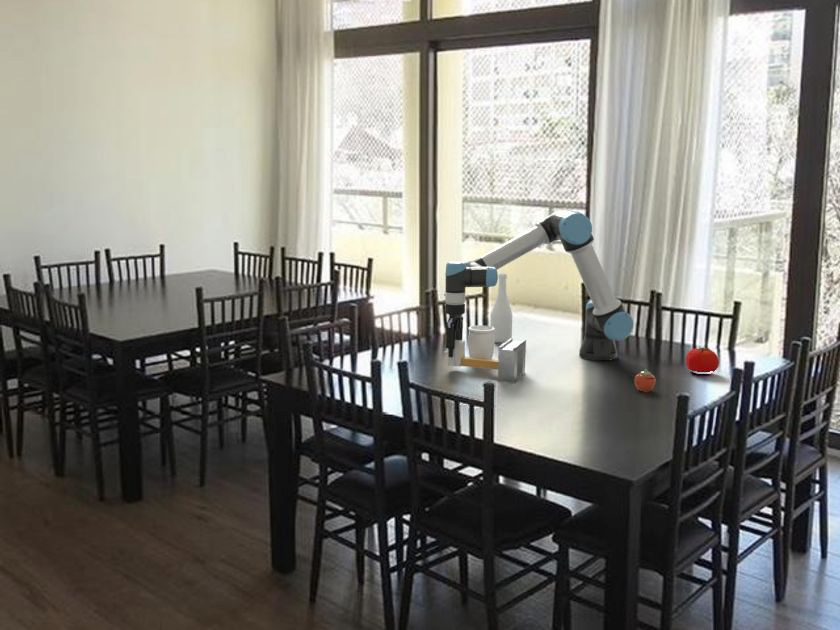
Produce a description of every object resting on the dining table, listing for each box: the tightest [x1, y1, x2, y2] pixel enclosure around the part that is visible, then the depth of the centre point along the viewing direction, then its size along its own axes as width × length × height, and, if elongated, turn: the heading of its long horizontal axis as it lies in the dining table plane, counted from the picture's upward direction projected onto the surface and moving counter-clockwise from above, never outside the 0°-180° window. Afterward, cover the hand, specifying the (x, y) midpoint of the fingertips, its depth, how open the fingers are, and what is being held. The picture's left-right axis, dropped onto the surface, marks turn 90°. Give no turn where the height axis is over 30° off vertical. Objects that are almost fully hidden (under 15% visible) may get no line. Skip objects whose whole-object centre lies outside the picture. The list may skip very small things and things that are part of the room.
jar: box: [467, 325, 496, 359], centre depth 339 cm, size 11×10×15 cm
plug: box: [443, 339, 498, 371], centre depth 328 cm, size 24×5×9 cm, turn 69°
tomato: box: [685, 345, 720, 372], centre depth 331 cm, size 11×13×10 cm
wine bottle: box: [489, 272, 513, 344], centre depth 381 cm, size 10×10×30 cm
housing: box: [497, 337, 527, 384], centre depth 323 cm, size 6×16×13 cm, turn 159°
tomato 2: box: [633, 368, 657, 392], centre depth 307 cm, size 7×7×8 cm
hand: (453, 363), depth 331 cm, fingers closed on plug, 5 cm apart
